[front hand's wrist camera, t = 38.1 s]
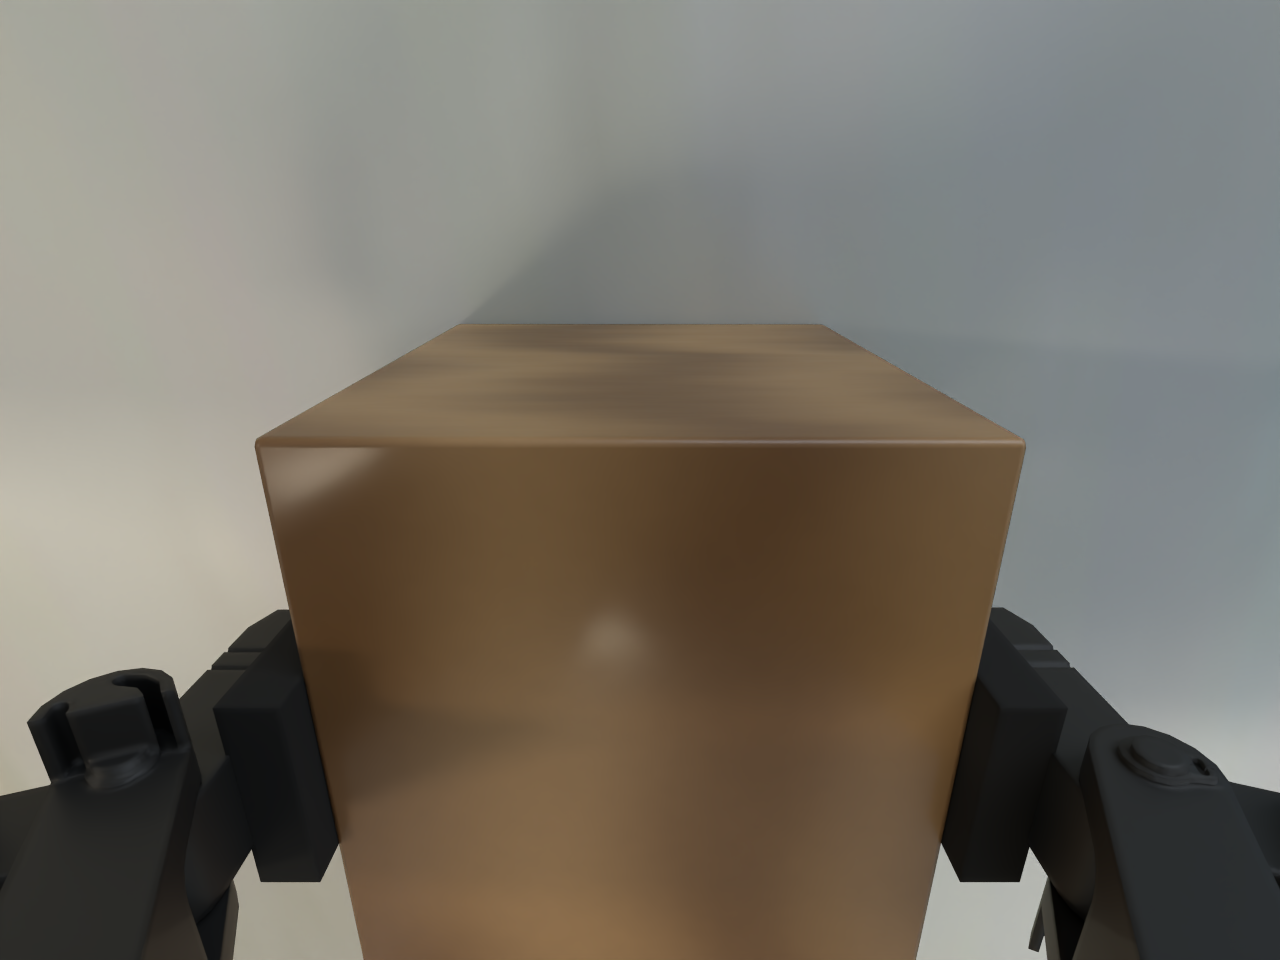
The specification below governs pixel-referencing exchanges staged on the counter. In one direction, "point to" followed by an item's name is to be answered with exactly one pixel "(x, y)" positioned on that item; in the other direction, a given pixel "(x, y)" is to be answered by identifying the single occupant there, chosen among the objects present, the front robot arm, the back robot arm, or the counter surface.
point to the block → (640, 638)
